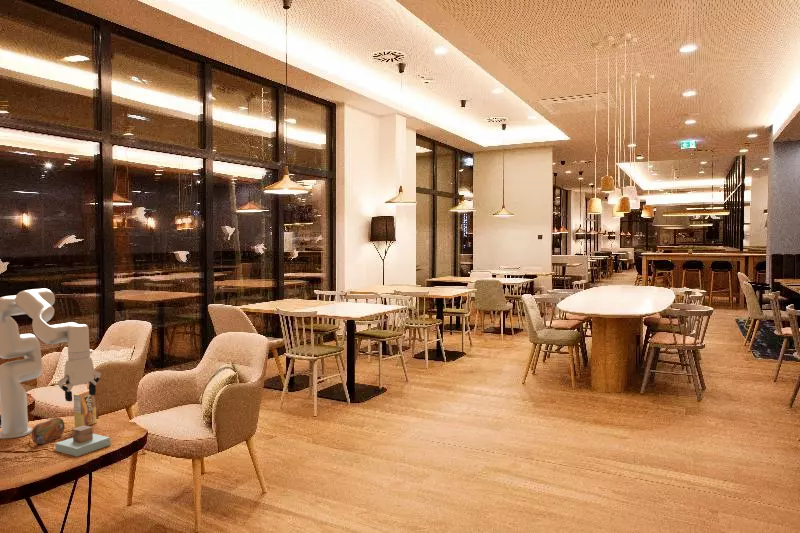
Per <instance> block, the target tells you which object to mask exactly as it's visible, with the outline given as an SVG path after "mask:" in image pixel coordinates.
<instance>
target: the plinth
mask: <svg viewBox="0 0 800 533" xmlns="http://www.w3.org/2000/svg"><path fill="white" fill-rule="evenodd" d="M110 445H111V437H109V436H105V435H102V434H101V435H100V434H97V433H93V439H92V440H89V441H86V442H83V443H78V442H74V441H73V437H70V438H67V439H64V440H61V441H59V442H55V443H54V446H55V452H59V453H63V454H67V455H70V456H73V457H79V456H83V455H86V454H89V453H91V452H94V451H96V450H100V449H102V448H106V447H109V446H110ZM88 452H89V453H88ZM85 453H86V454H85ZM82 454H83V455H82Z"/></svg>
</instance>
